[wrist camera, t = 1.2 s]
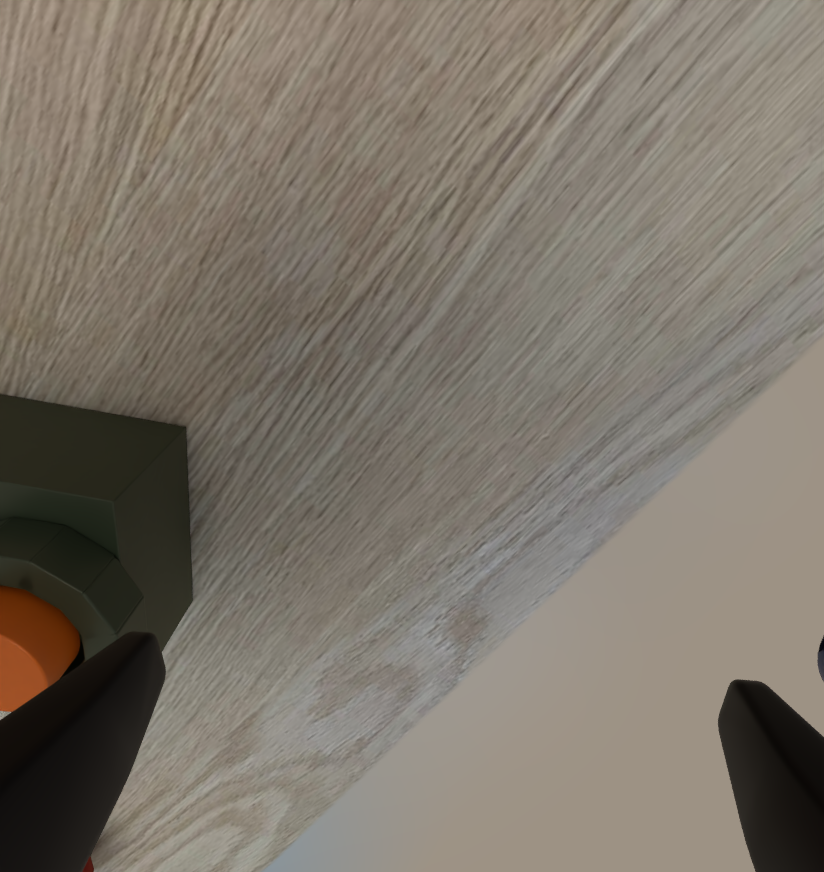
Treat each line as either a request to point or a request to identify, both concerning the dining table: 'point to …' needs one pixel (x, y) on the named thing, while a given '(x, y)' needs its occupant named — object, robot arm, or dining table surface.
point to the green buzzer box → (95, 519)
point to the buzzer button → (32, 646)
